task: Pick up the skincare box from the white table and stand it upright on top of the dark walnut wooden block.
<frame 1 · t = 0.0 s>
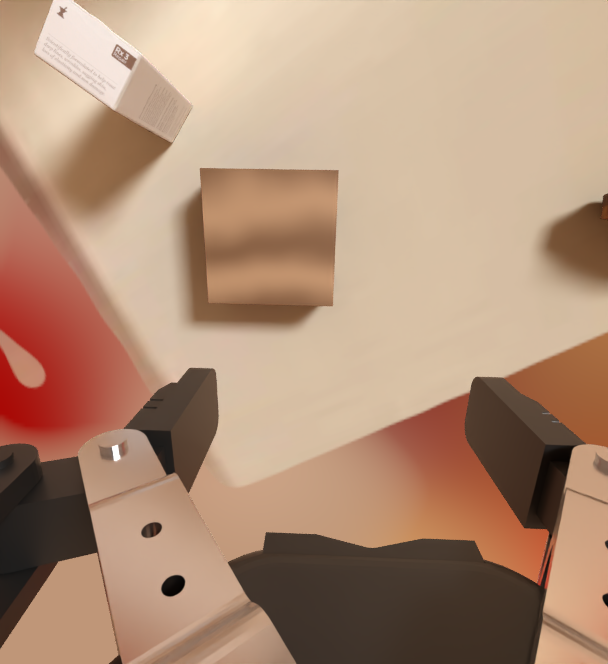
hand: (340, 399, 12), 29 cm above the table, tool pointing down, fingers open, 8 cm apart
walnut block: (275, 237, 39), on the table
skincare box: (159, 105, 36), on the table
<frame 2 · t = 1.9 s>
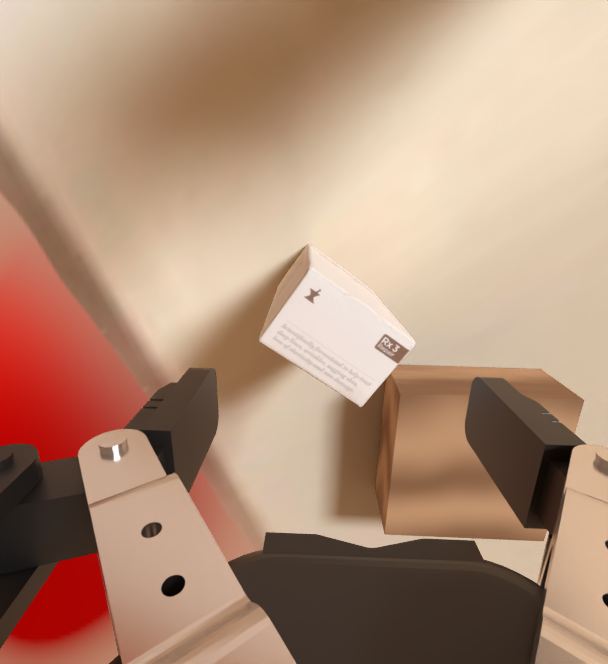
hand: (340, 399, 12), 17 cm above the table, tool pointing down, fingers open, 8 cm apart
walnut block: (452, 432, 31), on the table
skincare box: (326, 287, 28), on the table
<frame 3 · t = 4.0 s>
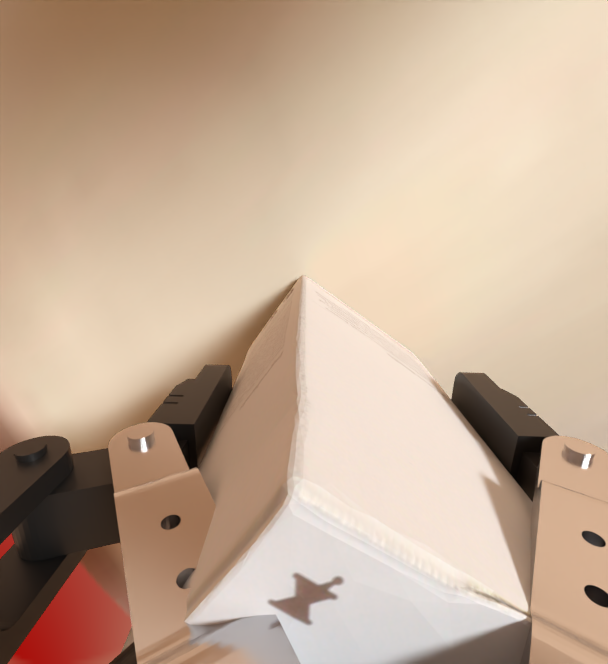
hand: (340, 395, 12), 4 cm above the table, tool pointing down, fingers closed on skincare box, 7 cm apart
skincare box: (335, 349, 16), on the table, touching gripper
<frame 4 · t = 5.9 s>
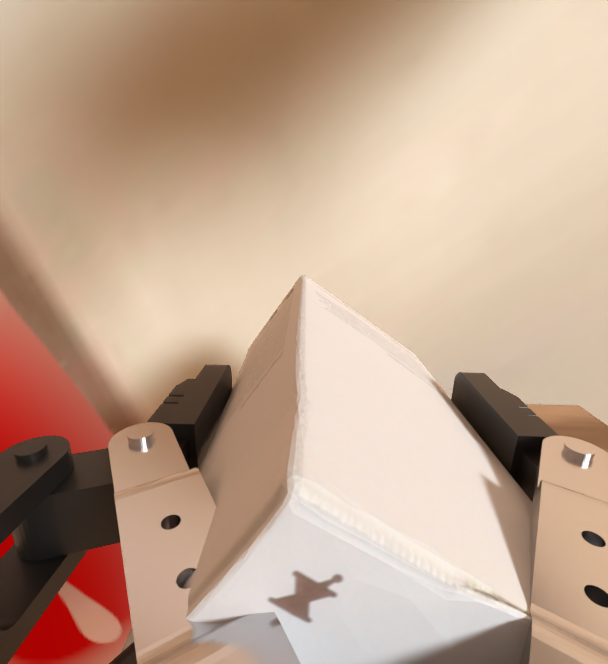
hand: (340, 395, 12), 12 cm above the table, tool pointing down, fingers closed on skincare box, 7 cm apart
walnut block: (474, 478, 27), on the table
skincare box: (335, 349, 16), point 8 cm above the table, touching gripper
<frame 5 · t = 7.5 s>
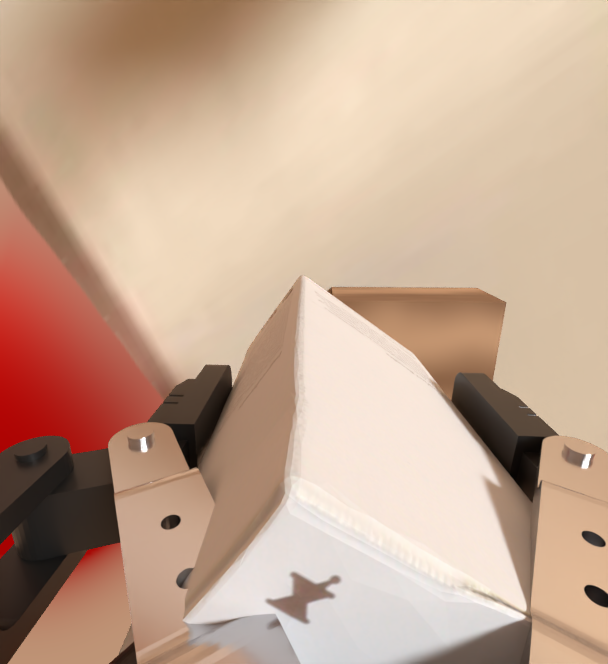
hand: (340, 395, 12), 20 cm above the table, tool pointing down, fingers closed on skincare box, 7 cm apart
walnut block: (398, 354, 33), on the table
skincare box: (335, 349, 16), point 16 cm above the table, touching gripper
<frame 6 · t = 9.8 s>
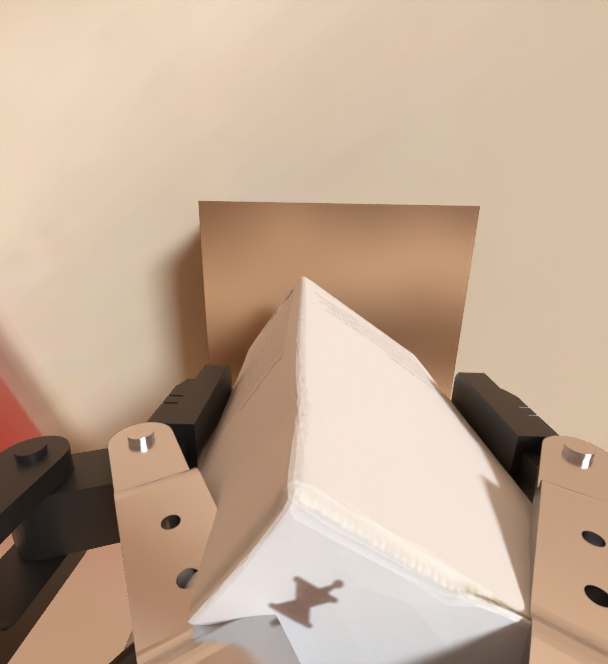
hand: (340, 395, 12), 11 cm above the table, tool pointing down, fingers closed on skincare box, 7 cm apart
walnut block: (328, 310, 22), on the table
skincare box: (335, 350, 16), point 7 cm above the table, touching gripper
when the fingers open (10 cm above the table, at t = 11.1 s): skincare box drops 1 cm, resting on walnut block.
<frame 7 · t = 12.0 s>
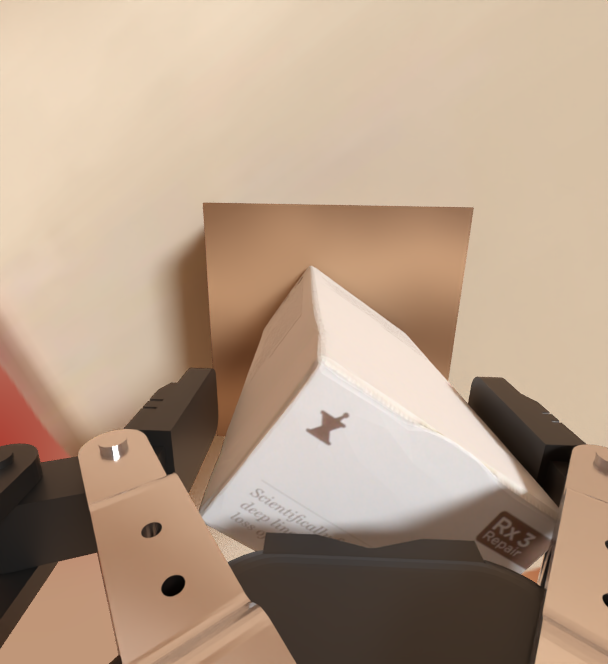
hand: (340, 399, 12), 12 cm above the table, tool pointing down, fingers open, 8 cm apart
walnut block: (328, 309, 23), on the table
skincare box: (338, 330, 18), point 5 cm above the table, touching gripper, walnut block
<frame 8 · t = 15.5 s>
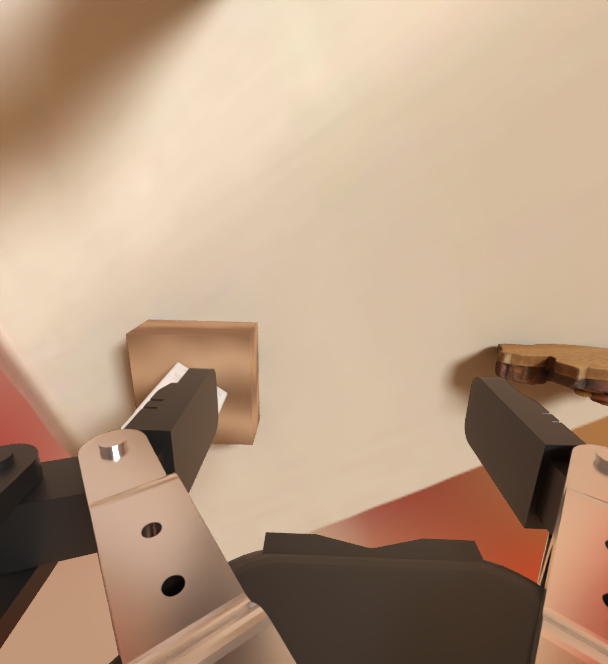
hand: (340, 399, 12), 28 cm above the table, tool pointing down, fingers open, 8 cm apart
walnut block: (206, 371, 42), on the table
wooden carving: (554, 352, 41), on the table
skincare box: (196, 390, 38), point 5 cm above the table, touching walnut block
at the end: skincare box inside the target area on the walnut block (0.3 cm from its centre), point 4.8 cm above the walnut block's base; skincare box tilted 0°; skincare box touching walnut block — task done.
